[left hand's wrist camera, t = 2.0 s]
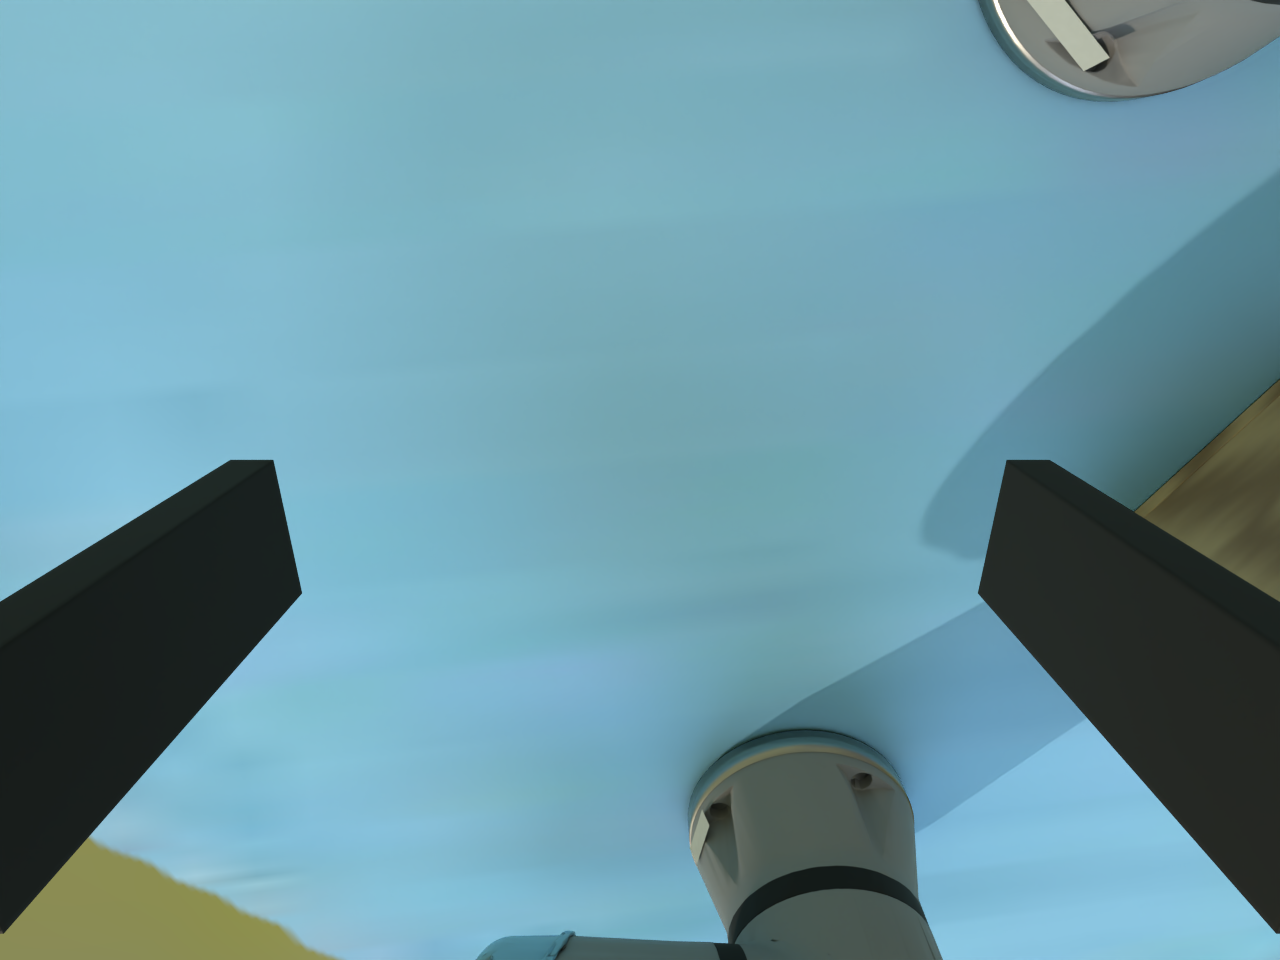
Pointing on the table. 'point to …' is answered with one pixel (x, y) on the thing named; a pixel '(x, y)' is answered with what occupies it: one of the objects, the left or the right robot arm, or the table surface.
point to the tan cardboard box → (1231, 497)
